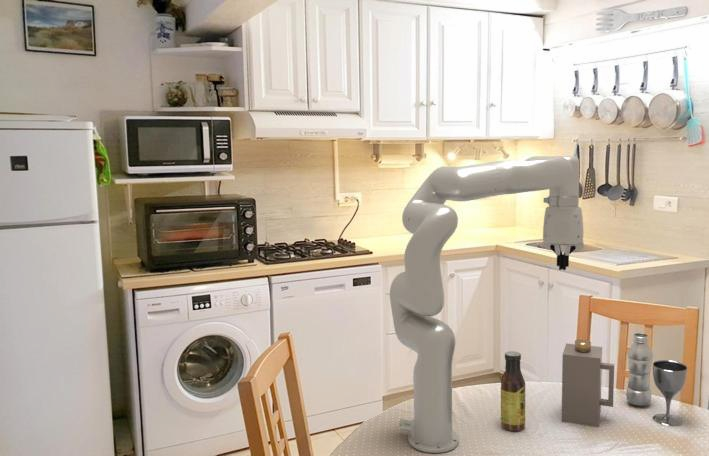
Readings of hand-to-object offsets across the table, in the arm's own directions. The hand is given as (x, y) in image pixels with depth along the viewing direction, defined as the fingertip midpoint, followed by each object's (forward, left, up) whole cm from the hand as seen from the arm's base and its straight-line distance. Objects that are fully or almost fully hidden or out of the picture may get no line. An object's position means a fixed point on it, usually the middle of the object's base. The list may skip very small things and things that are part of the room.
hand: (562, 268), depth 169 cm
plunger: (+6, -6, -37) cm, 38 cm away
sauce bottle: (-10, -18, -39) cm, 44 cm away
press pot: (+8, -6, -39) cm, 40 cm away
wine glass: (+27, 0, -39) cm, 48 cm away
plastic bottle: (+20, +8, -39) cm, 45 cm away
